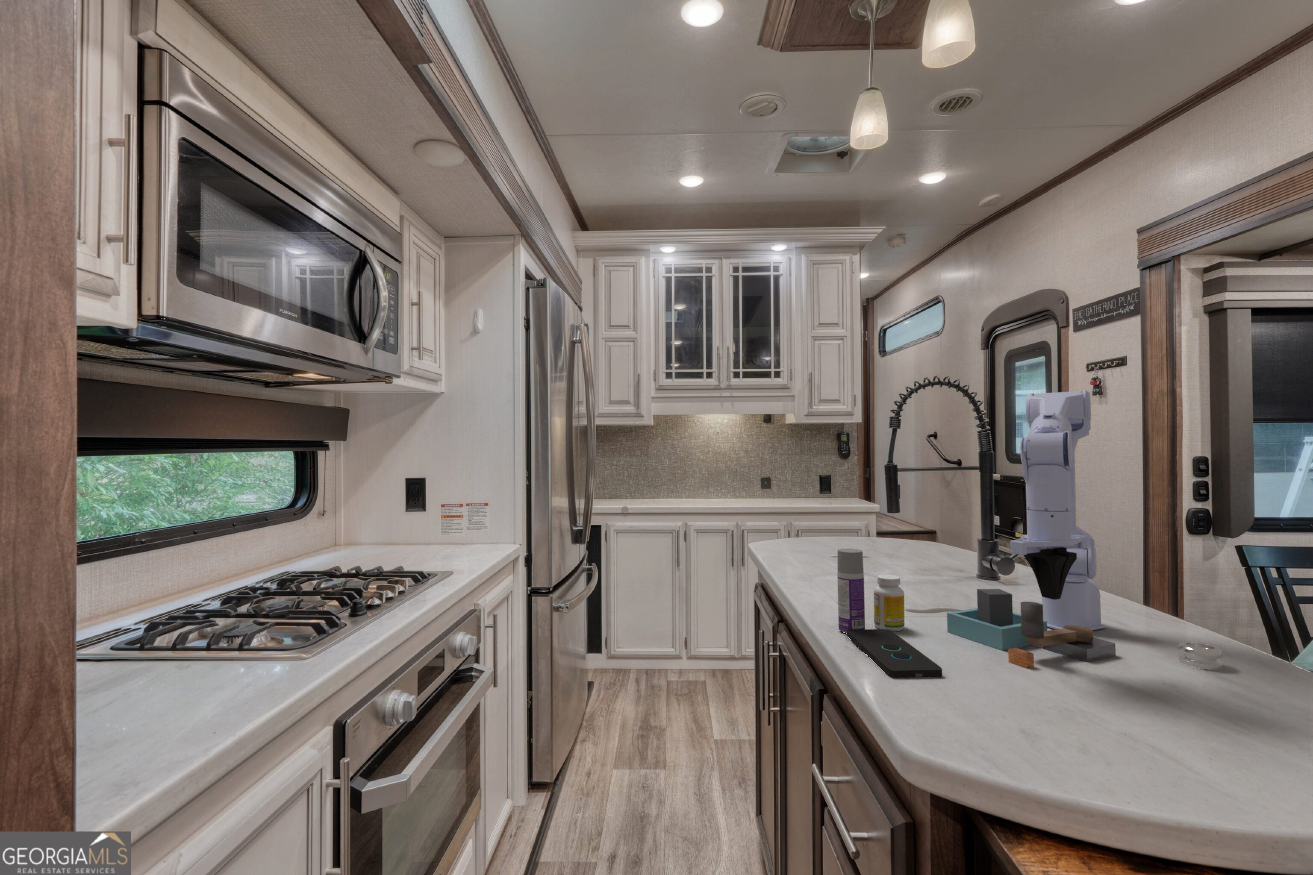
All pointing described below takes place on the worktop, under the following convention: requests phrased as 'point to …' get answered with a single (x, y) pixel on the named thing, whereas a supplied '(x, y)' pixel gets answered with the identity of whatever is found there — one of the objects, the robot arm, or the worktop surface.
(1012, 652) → the wooden and grey pieces
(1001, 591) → the block
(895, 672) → the black flat panel
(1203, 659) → the metal wheel
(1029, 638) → the crank lever
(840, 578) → the container
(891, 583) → the supplement bottle
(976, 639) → the tray
